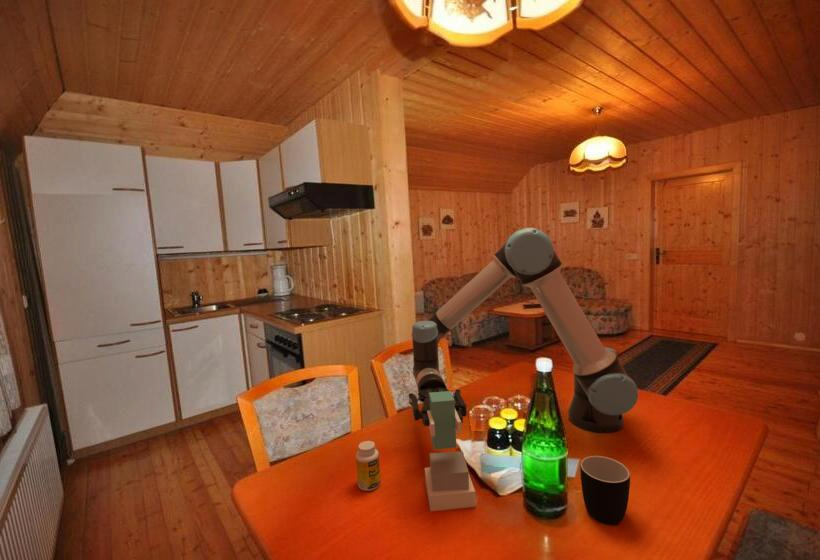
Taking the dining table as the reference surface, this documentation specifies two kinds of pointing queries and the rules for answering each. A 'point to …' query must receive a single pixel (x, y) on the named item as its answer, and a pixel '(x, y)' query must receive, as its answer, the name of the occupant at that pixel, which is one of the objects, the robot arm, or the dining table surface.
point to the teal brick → (443, 419)
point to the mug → (605, 489)
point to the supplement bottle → (368, 466)
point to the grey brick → (449, 471)
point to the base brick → (449, 496)
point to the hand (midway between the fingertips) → (446, 429)
